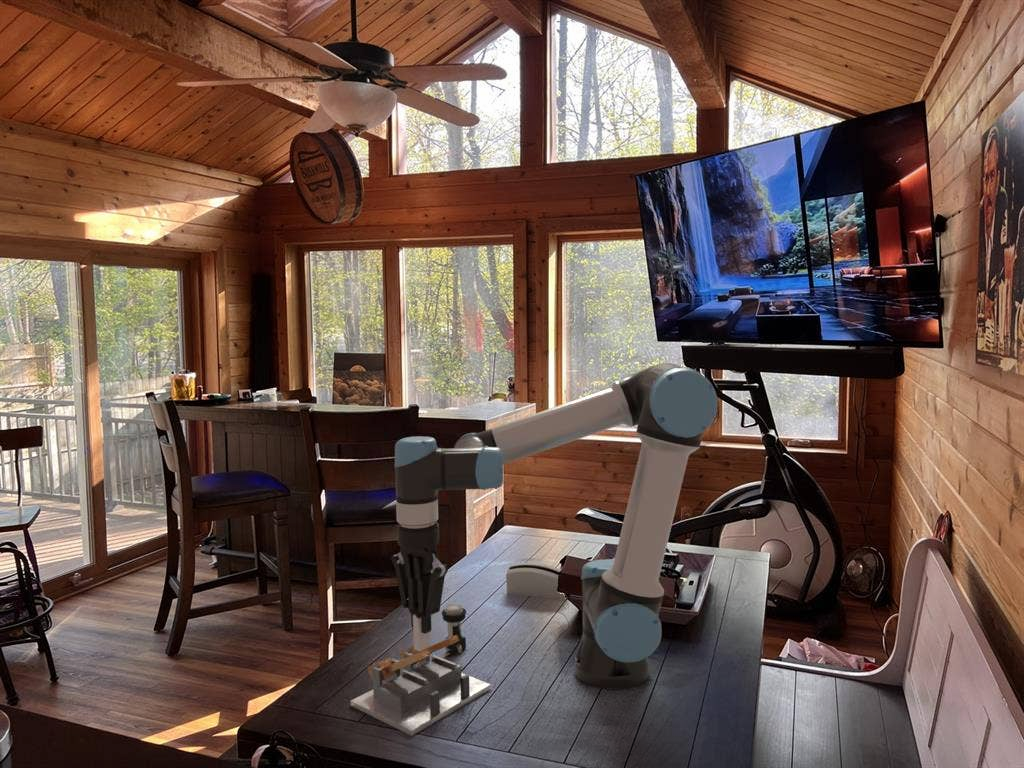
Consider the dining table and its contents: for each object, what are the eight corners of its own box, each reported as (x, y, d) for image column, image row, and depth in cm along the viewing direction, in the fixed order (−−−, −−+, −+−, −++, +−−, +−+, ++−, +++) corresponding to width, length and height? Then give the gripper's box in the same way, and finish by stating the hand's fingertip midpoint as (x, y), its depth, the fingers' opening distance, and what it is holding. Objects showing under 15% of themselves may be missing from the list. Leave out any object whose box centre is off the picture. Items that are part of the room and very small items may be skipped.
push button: (453, 661, 163) (451, 616, 162) (434, 655, 166) (432, 611, 165) (472, 649, 169) (470, 605, 168) (453, 644, 172) (451, 601, 171)
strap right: (404, 668, 155) (398, 652, 156) (414, 663, 157) (408, 647, 158) (452, 648, 145) (445, 631, 146) (462, 643, 148) (455, 626, 148)
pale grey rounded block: (572, 593, 201) (567, 562, 197) (567, 605, 197) (562, 574, 193) (512, 586, 207) (507, 556, 203) (506, 598, 203) (501, 567, 199)
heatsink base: (490, 689, 151) (489, 657, 150) (411, 735, 135) (410, 700, 134) (430, 665, 162) (429, 635, 161) (350, 705, 146) (349, 672, 145)
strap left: (373, 684, 149) (367, 667, 150) (384, 678, 151) (378, 661, 152) (421, 664, 139) (414, 646, 140) (432, 658, 142) (425, 641, 142)
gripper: (458, 523, 137) (461, 650, 140) (408, 512, 146) (413, 632, 148) (427, 533, 132) (432, 665, 134) (378, 521, 140) (383, 645, 142)
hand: (422, 647), depth 141 cm, fingers closed
